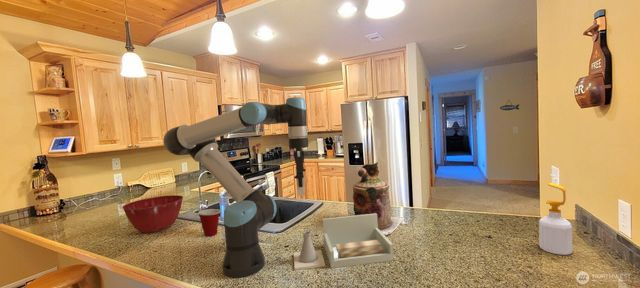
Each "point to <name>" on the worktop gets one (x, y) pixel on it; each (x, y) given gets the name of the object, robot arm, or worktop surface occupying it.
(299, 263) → the mat
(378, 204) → the cookie jar
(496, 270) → the worktop surface
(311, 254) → the flask
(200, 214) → the plastic cup
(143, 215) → the mixing bowl
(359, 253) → the light brown wooden block
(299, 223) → the worktop surface
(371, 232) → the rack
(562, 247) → the soap bottle
